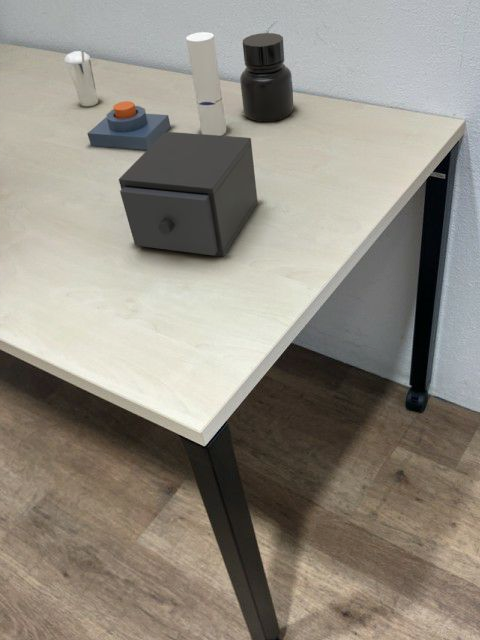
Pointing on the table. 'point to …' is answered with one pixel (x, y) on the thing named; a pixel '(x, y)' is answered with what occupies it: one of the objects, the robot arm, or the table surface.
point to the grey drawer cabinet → (202, 176)
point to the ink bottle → (265, 78)
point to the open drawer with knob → (170, 219)
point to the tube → (206, 83)
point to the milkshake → (82, 77)
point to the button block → (129, 130)
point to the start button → (124, 110)
